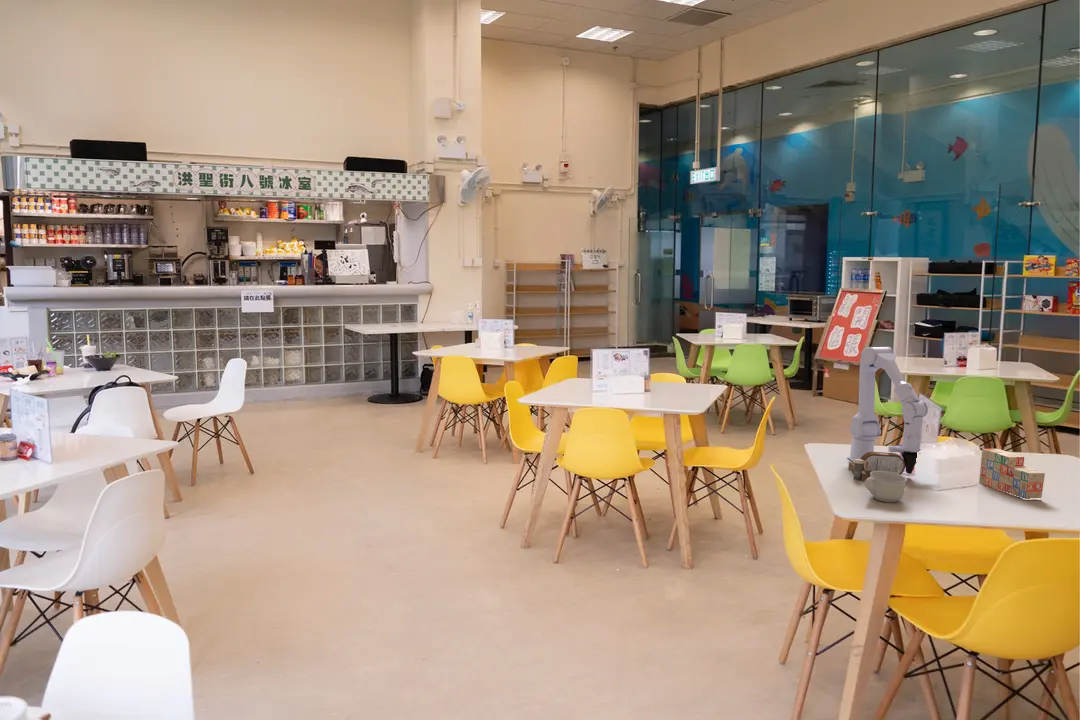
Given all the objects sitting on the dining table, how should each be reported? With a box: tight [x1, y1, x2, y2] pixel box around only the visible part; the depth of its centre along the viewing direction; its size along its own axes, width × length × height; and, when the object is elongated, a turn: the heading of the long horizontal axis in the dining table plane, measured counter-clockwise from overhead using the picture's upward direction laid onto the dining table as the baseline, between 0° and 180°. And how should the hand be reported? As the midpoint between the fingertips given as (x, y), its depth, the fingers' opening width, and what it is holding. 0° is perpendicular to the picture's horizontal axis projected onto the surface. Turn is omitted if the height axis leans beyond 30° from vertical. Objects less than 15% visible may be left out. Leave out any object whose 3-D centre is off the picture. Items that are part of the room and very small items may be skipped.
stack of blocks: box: [978, 448, 1046, 499], centre depth 271 cm, size 21×6×12 cm, turn 10°
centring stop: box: [847, 459, 872, 482], centre depth 286 cm, size 16×8×7 cm, turn 175°
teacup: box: [864, 471, 908, 503], centre depth 256 cm, size 14×11×8 cm
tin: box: [861, 451, 906, 475], centre depth 285 cm, size 15×3×8 cm, turn 85°
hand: (908, 473), depth 285 cm, fingers closed
